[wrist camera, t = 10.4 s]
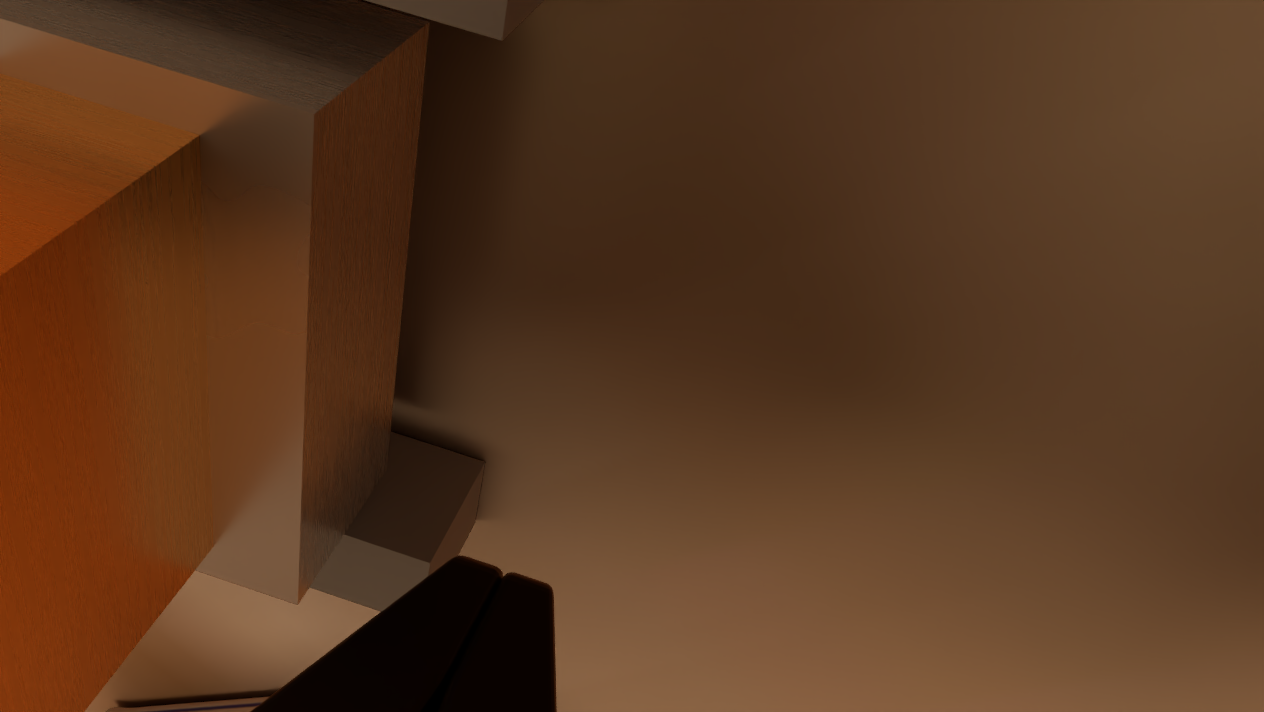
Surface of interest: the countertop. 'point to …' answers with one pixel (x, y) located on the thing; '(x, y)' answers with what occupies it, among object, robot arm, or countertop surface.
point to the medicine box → (200, 706)
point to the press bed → (416, 471)
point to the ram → (190, 307)
